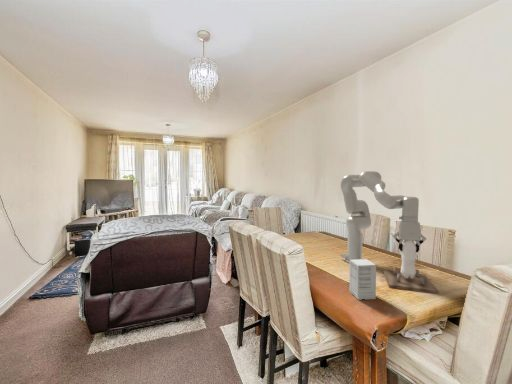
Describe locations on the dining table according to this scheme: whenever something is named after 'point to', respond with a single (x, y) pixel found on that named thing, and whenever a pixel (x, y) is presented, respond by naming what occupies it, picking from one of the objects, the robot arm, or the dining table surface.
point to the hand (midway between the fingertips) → (408, 250)
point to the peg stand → (409, 281)
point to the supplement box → (362, 279)
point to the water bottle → (408, 259)
